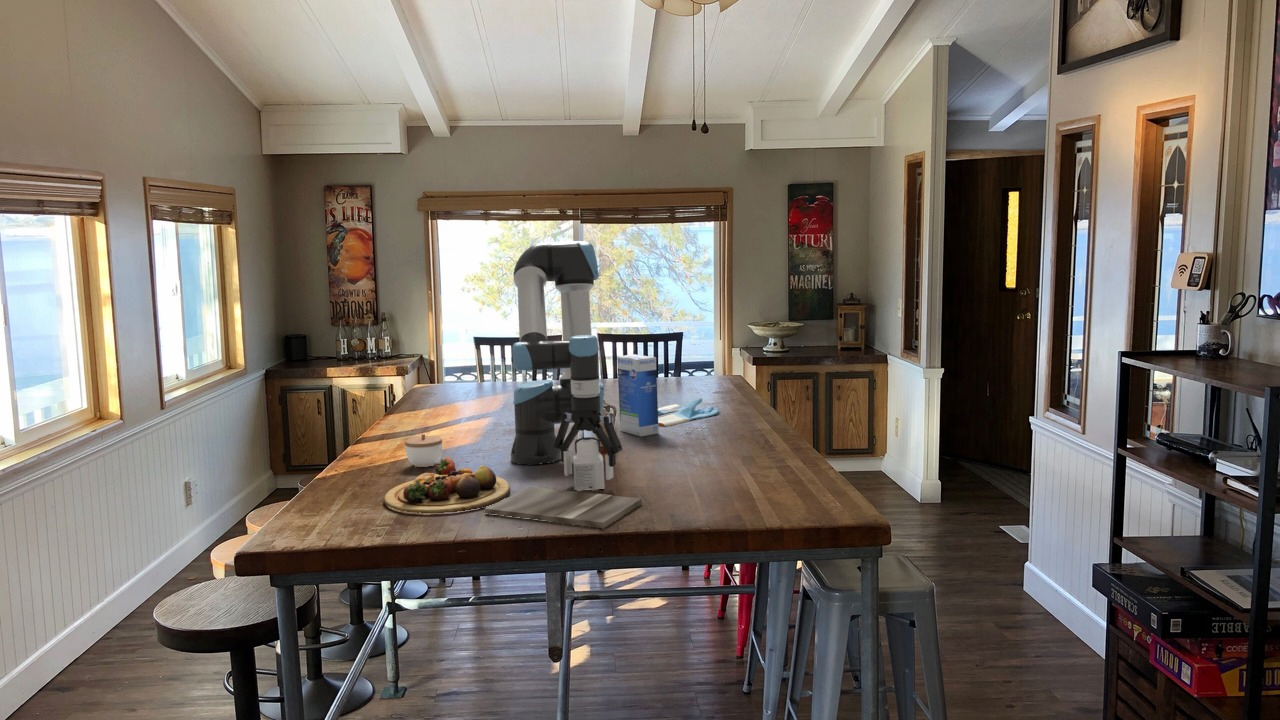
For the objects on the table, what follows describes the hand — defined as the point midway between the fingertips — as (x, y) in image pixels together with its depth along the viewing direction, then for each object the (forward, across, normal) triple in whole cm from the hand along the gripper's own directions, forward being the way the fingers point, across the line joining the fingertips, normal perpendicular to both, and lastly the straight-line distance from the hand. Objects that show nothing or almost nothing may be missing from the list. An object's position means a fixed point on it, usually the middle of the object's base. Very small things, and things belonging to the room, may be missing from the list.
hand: (588, 476), depth 238 cm
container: (+3, 0, 0) cm, 3 cm away
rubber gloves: (+3, -19, +97) cm, 99 cm away
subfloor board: (+3, +4, -20) cm, 21 cm away
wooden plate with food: (+4, -30, -20) cm, 37 cm away
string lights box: (+3, -17, +66) cm, 68 cm away
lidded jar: (+3, -58, +5) cm, 58 cm away
